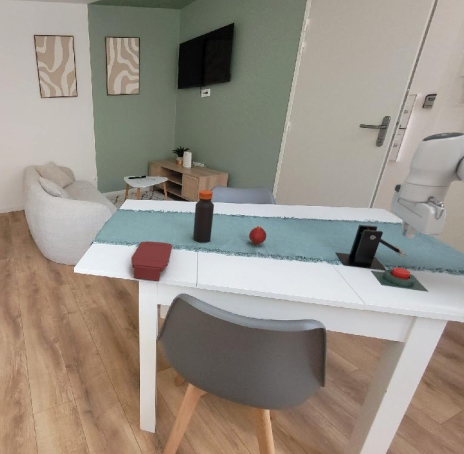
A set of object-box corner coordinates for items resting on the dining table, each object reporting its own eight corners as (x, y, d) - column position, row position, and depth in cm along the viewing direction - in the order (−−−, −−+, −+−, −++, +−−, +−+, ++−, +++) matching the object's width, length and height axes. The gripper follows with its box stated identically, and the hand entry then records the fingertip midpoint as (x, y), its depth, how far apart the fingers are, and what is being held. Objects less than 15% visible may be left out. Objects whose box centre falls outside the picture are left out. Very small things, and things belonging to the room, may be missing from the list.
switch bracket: (374, 259, 97) (386, 224, 92) (386, 273, 90) (400, 236, 85) (334, 255, 101) (344, 221, 96) (342, 268, 94) (354, 232, 89)
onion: (249, 240, 115) (252, 221, 112) (265, 243, 112) (269, 224, 109) (246, 245, 111) (249, 226, 108) (263, 249, 108) (266, 229, 105)
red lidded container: (141, 252, 118) (127, 276, 95) (141, 240, 117) (128, 262, 94) (171, 255, 114) (165, 281, 91) (172, 243, 113) (166, 267, 90)
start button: (404, 273, 85) (406, 268, 84) (411, 280, 82) (413, 275, 81) (388, 271, 86) (390, 266, 85) (394, 278, 83) (396, 273, 82)
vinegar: (191, 236, 122) (194, 189, 114) (207, 235, 121) (212, 189, 113) (195, 243, 115) (199, 194, 107) (212, 242, 115) (217, 194, 107)
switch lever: (393, 251, 93) (400, 246, 92) (401, 259, 89) (409, 253, 87) (358, 230, 94) (365, 225, 93) (364, 237, 90) (371, 231, 89)
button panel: (411, 279, 87) (415, 270, 85) (426, 294, 80) (431, 285, 79) (369, 273, 90) (372, 265, 89) (380, 288, 83) (384, 279, 82)
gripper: (462, 204, 73) (441, 253, 78) (418, 184, 90) (404, 225, 95) (428, 203, 75) (410, 250, 80) (392, 183, 92) (379, 223, 98)
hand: (406, 236), depth 88 cm, fingers closed
